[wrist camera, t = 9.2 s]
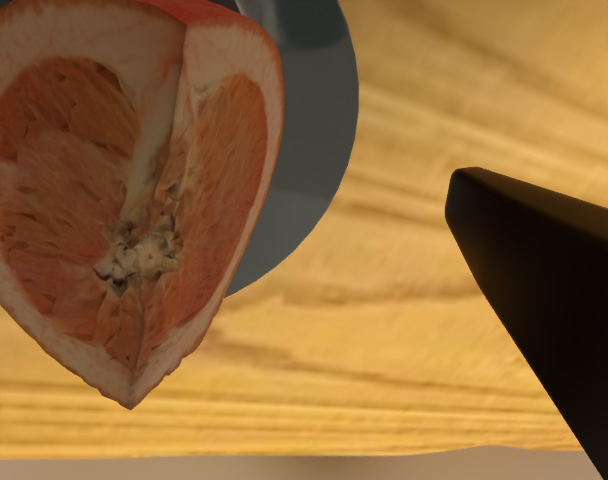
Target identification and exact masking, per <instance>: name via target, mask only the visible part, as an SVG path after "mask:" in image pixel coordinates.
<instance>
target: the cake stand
mask: <svg viewBox="0 0 608 480" xmlns="http://www.w3.org/2000/svg"><path fill="white" fill-rule="evenodd" d="M11 1H12V0H0V7H2V6H4V5H6V4H8V3H9V2H11ZM206 1H210V2H213V3H216V4H219V5H222V6H224V7H226V8H228V9H230V10H232V11H234V12H236V13H239V14H241V15H243V16H245V17H247V18H250V19H252V20H253V21H255V22H256V23H258V24H259V25H261V26H262V27H263V28H264V29H265V30H266V31H267V32H268V34H269V35H270V36H271V37H272V38H273V40H274V42H275V45H276V47H277V49H278V51H279V55H280V59H281V68H282V75H283V84H284V122H283V131H282V138H281V142H280V147H279V152H278V156H277V160H276V164H275V168H274V171H273V175H272V178H271V182H270V186H269V189H268V192H267V195H266V198H265V201H264V204H263V207H262V209H261V212H260V214H259V217H258V220H257V222H256V225H255V227H254V229H253V232H252V234H251V237H250V239H249V242H248V244H247V247H246V249H245V252H244V254H243V256H242V258H241V260H240V262H239V264H238V266H237V269H236V271H235V273H234V276H233V278H232V281H231V283H230V285H229V287H228V289H227V291H226V294H225V296H224V298H225V297H227V296H229V295H232V294H234V293H236V292H237V291H239V290H241V289H243V288H244V287H246V286H248V285H250V284H251V283H253V282H255V281H257V280H258V279H259V278H261V277H262V276H263V275H265V274H266V273H268V272H269V271H270V270H272V269H273V268H275V267H276V266H277V265H278V264H279V263H281V262H282V261H283V260H284V259H285V258H286V257H287V256H288V255H289V254H291V253H292V252H293V251H294V250H295V249H296V248H297V247H298V246H299V245H300V243H301V242H302V241H303V240H304V239H305V238H306V237H307V236H308V235H309V233H310V232H311V231H312V230H313V228H314V227H315V226H316V224H317V223H318V221H319V220H320V219H321V217H322V216H323V214H324V213H325V212H326V210H327V208H328V206H329V205H330V203H331V201H332V199H333V197H334V195H335V194H336V192H337V190H338V188H339V186H340V183H341V181H342V178H343V176H344V173H345V171H346V168H347V166H348V163H349V159H350V155H351V151H352V148H353V144H354V140H355V134H356V127H357V119H358V112H359V81H358V73H357V65H356V57H355V51H354V47H353V43H352V40H351V36H350V32H349V28H348V24H347V21H346V19H345V17H344V14H343V12H342V9H341V7H340V4H339V2H338V0H206Z"/></svg>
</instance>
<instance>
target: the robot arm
mask: <svg viewBox="0 0 608 480" xmlns="http://www.w3.org/2000/svg"><path fill="white" fill-rule="evenodd" d="M445 218H446V222H447V224H448V226H449V228H450V230H451V232H452V234H453V236H454V238H455V240H456V242H457V244H458V246H459V248H460V250H461V252H462V254H463V256H464V258H465V260H466V262H467V264H468V266H469V268H470V270H471V272H472V274H473V276H474V278H475V280H476V282H477V284H478V286H479V287H480V289H481V291H482V292H483V294H484V296H485V297H486V299H487V300H488V302H489V303H490V305H491V307H492V308H493V310H494V311H495V313H496V314H497V316H498V317H499V319H500V320H501V322H502V324H503V325H504V327H505V328H506V330H507V331H508V333H509V334H510V336H511V337H512V339H513V341H514V342H515V344H516V345H517V347H518V348H519V350H520V351H521V353H522V354H523V356H524V358H525V359H526V361H527V362H528V364H529V365H530V367H531V368H532V370H533V371H534V373H535V375H536V376H537V378H538V379H539V381H540V382H541V384H542V385H543V387H544V388H545V390H546V392H547V393H548V395H549V396H550V398H551V399H552V401H553V402H554V404H555V405H556V407H557V409H558V410H559V412H560V413H561V415H562V416H563V418H564V419H565V421H566V422H567V424H568V426H569V427H570V429H571V430H572V432H573V433H574V435H575V436H576V438H577V439H578V441H579V443H580V444H581V446H582V447H583V449H584V450H585V452H586V453H587V455H588V456H589V458H590V460H591V461H592V463H593V464H594V466H595V467H596V469H597V470H598V472H599V473H600V475H601V477H602V478H603V480H608V208H605V207H602V206H599V205H596V204H592V203H589V202H586V201H583V200H580V199H577V198H574V197H571V196H567V195H564V194H561V193H558V192H555V191H552V190H549V189H545V188H542V187H539V186H536V185H533V184H530V183H527V182H524V181H520V180H517V179H514V178H511V177H508V176H505V175H502V174H499V173H495V172H492V171H489V170H486V169H483V168H480V167H468V168H461V169H457V170H455V171H454V172H453V173H452V175H451V179H450V184H449V189H448V194H447V200H446V205H445Z"/></svg>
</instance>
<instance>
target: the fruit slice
mask: <svg viewBox="0 0 608 480" xmlns="http://www.w3.org/2000/svg"><path fill="white" fill-rule="evenodd" d="M283 122H284V84H283V75H282V68H281V59H280V55H279V51H278V49H277V47H276V45H275V42H274V40H273V38H272V37H271V36H270V35H269V34H268V32H267V31H266V30H265V29H264V28H263V27H262V26H261V25H259V24H258V23H256V22H255V21H253V20H252V19H250V18H247V17H245V16H243V15H241V14H239V13H236V12H234V11H232V10H230V9H228V8H226V7H224V6H222V5H219V4H216V3H213V2H210V1H206V0H12V1H11V2H9V3H8V4H6V5H4V6H2V7H0V305H1V306H2V307H3V308H4V309H5V310H6V312H7V313H8V314H9V315H10V316H11V317H12V318H13V319H14V321H15V322H16V323H17V324H18V325H19V326H20V327H21V328H22V329H23V330H24V331H25V332H26V333H27V334H28V335H29V336H30V337H32V338H33V339H34V340H36V342H37V343H38V344H39V345H40V346H41V348H42V349H43V350H44V351H45V352H46V353H47V354H48V355H50V356H51V357H52V358H54V359H55V360H56V361H58V362H59V363H60V364H61V365H62V366H63V367H65V368H66V369H68V370H69V371H70V372H72V373H74V374H76V375H77V376H79V377H81V378H82V379H83V380H84V382H86V383H87V384H88V385H90V386H91V387H94V388H97V389H98V390H99V392H100V393H101V394H102V396H104V397H107V398H109V399H112V400H114V401H117V402H118V403H119V404H120V405H121V406H123V407H125V408H127V409H129V410H132V409H133V408H134V407H135V406H137V405H138V404H139V403H140V402H141V401H142V400H143V399H144V398H145V397H146V395H147V394H148V393H149V392H150V391H151V390H152V389H154V388H155V387H156V386H158V385H159V383H160V382H161V381H162V380H163V378H164V377H165V375H167V376H169V375H170V374H171V373H172V372H173V371H174V370H175V369H177V368H178V367H179V365H180V363H181V360H182V359H183V358H184V357H186V356H188V355H189V354H191V353H192V352H194V351H195V350H196V349H197V347H198V346H199V345H200V343H201V342H202V340H203V338H204V336H205V334H206V332H207V330H208V328H209V326H210V324H211V322H212V320H213V318H214V317H215V315H216V314H217V312H218V310H219V307H220V305H221V303H222V300H223V298H224V296H225V294H226V291H227V289H228V287H229V285H230V283H231V281H232V278H233V276H234V273H235V271H236V269H237V266H238V264H239V262H240V260H241V258H242V256H243V254H244V252H245V249H246V247H247V244H248V242H249V239H250V237H251V234H252V232H253V229H254V227H255V225H256V222H257V220H258V217H259V214H260V212H261V209H262V207H263V204H264V201H265V198H266V195H267V192H268V189H269V186H270V182H271V178H272V175H273V171H274V168H275V164H276V160H277V156H278V152H279V147H280V142H281V138H282V131H283Z"/></svg>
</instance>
